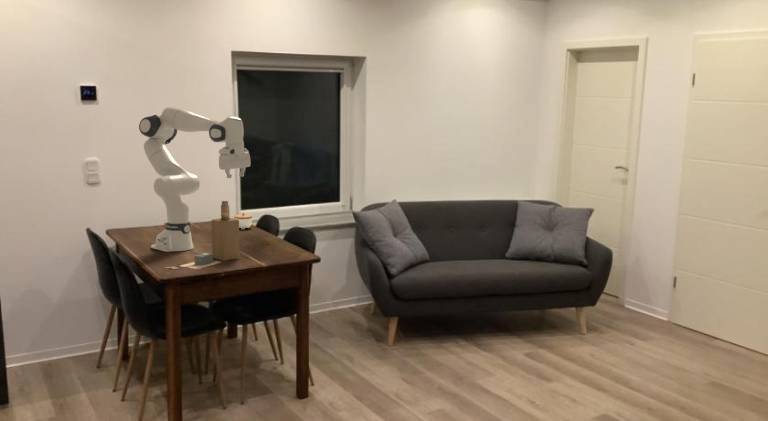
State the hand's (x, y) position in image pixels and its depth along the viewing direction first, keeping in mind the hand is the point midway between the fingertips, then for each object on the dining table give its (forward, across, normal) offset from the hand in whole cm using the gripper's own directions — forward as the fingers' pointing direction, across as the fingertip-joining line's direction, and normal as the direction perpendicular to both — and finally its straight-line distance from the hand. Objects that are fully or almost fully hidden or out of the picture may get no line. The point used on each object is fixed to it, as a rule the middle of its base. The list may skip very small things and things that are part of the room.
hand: (235, 177), depth 336 cm
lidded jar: (+39, -53, -40) cm, 77 cm away
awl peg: (+19, +13, +4) cm, 23 cm away
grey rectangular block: (+38, +28, +3) cm, 47 cm away
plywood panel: (+39, +29, +3) cm, 49 cm away
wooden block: (+39, +13, +4) cm, 42 cm away
